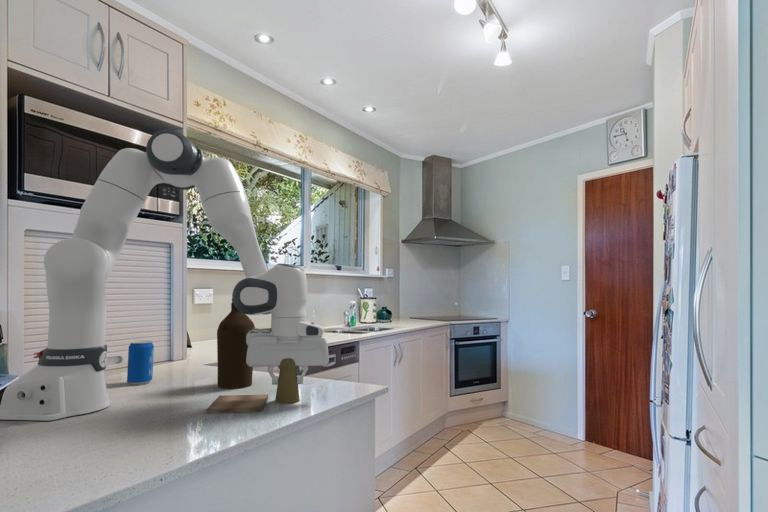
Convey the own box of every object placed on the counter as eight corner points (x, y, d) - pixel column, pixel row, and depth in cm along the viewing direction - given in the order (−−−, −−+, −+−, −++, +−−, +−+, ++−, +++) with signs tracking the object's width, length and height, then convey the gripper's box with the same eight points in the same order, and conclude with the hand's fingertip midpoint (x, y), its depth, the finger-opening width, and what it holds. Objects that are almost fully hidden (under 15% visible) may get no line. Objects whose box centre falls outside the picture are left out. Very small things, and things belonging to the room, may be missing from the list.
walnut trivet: (206, 413, 98) (207, 408, 98) (219, 399, 110) (219, 395, 110) (261, 411, 100) (262, 407, 100) (268, 398, 112) (268, 394, 112)
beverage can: (144, 385, 125) (146, 343, 126) (121, 385, 125) (124, 342, 126) (156, 380, 131) (158, 340, 132) (135, 380, 132) (137, 340, 132)
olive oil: (251, 389, 122) (254, 298, 124) (211, 390, 120) (214, 298, 122) (256, 380, 132) (258, 297, 134) (219, 381, 131) (222, 297, 132)
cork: (293, 404, 106) (294, 358, 107) (270, 403, 107) (271, 357, 108) (303, 398, 112) (304, 354, 113) (281, 397, 113) (282, 353, 114)
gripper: (244, 329, 106) (242, 387, 105) (329, 329, 109) (328, 385, 108) (248, 327, 112) (246, 382, 111) (328, 326, 115) (328, 380, 114)
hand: (287, 383), depth 110 cm, fingers closed on cork, 5 cm apart
